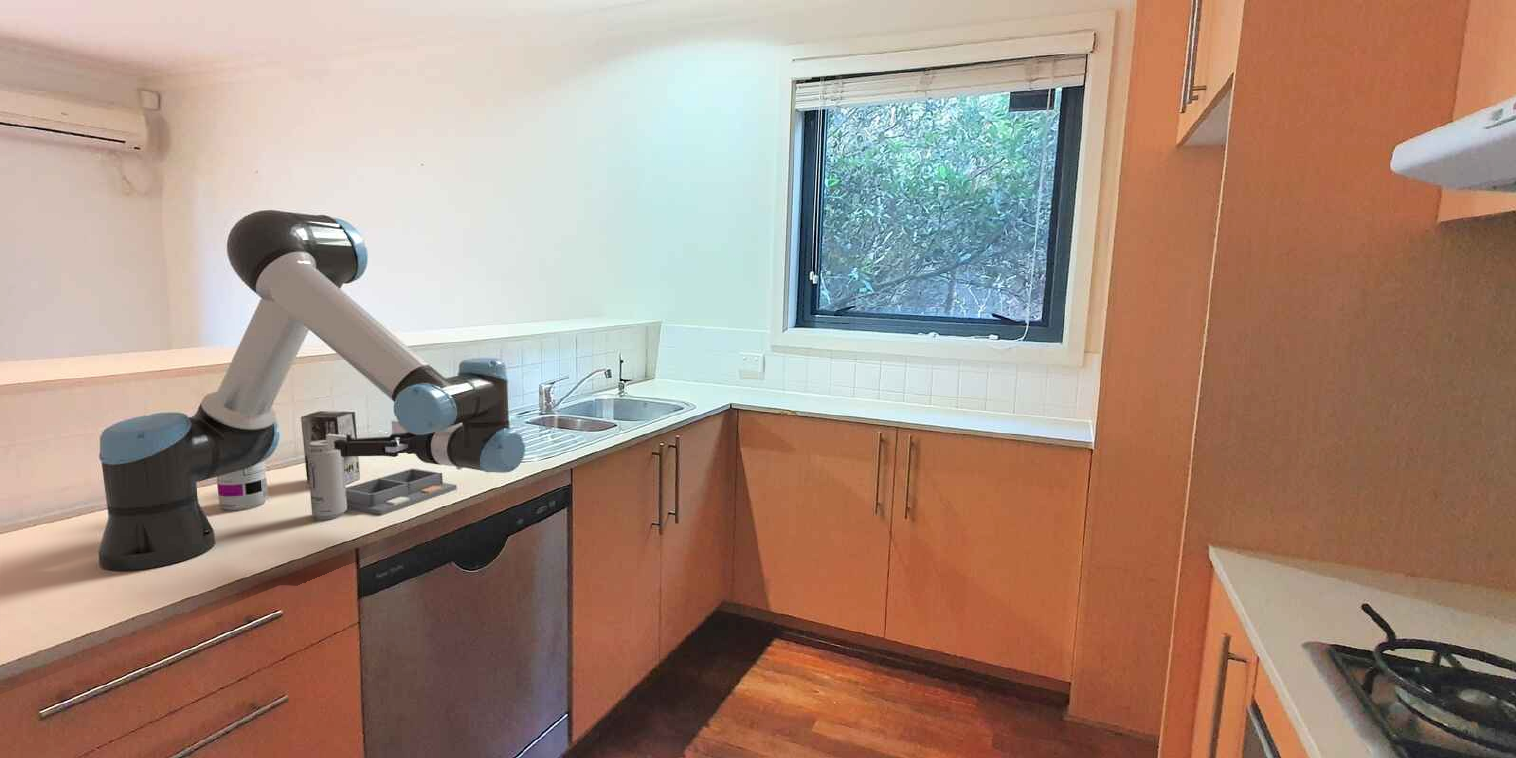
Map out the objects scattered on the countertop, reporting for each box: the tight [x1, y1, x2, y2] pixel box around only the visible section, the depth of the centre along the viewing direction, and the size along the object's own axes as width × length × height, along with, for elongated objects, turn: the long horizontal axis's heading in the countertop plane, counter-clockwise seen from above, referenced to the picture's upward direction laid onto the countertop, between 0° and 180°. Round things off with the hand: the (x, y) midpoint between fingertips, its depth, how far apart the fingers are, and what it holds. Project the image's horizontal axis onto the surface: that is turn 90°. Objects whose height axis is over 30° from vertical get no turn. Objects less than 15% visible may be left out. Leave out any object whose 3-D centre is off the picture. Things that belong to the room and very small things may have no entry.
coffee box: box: [300, 410, 361, 486], centre depth 161 cm, size 9×6×16 cm
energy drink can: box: [307, 440, 348, 521], centre depth 139 cm, size 6×6×15 cm
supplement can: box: [216, 460, 269, 511], centre depth 144 cm, size 8×8×15 cm
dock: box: [346, 468, 458, 516], centre depth 151 cm, size 19×13×4 cm
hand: (362, 433), depth 133 cm, fingers open, 13 cm apart
